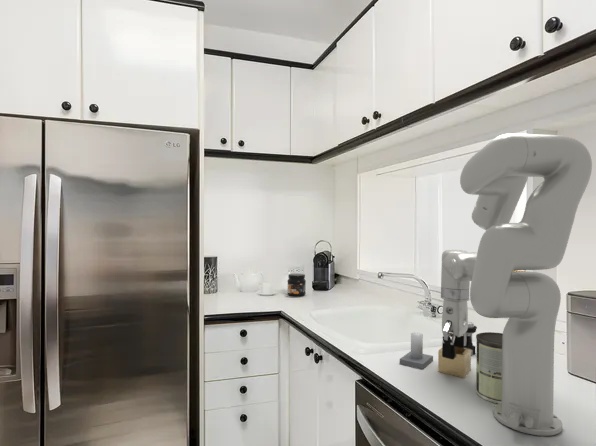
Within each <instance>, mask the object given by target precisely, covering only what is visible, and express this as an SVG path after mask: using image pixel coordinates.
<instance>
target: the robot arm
mask: <svg viewBox="0 0 596 446" xmlns="http://www.w3.org/2000/svg"><path fill="white" fill-rule="evenodd" d="M592 170H593V161H592V156H591V154H590V152H589V150H588V148H587V147H586V146H585V145H584V143H582V142H581V141H579V140H578V139H575V138H572V137H569V136H565V135H558V134H546V133H545V134H544V133H543V134H541V133H538V134H537V133H535V134H533V133H520V132H519V133H516V132H515V133H504V134H501V135H498V136H496V137H494V139H492V140H491V141H489V142H488V143H487V144H486V145H484V146H482V148H481V149H479V150H478V151H477V152H476V153H474V154H473V156H471V157H470V158H469V159H468V160H467V162H466V163H465V165H464V166H463V167H462V170H461V173H460V178H459V179H460V180H459V183H460V187H461V190H462V191H463V192H464V193H466V194H468V195H472V196H474V195H475V196H477V199H476V202H475V205H474V206H473V207H474V208H473V210H472V213H471V220H472V221H473V223H474V224H475V225H477V226H478V227H479V228H481V229H483V230H484V231H485V232H484V233H483V234H482V236H481V238H480V241H479V243H478V244H479V245H478V249H477V252H476V251H475V252H473V251H472V252H468V251H466V250H462V249H446V250H444V251H443V252H442V254H441V271H440V272H441V275H440V277H441V278H440V298H441V299H442V300H443V302H442V316H441V317H442V318H441V333H442V341H441V342H442V343H441V345H442V347H441V348H442V357H444V358H449V359H454V358H455V346H457V347H462V348H464V336H463V335H464V333H465V332H466V331H467V329H468V322H469V319H468V316H469V315H468V313H469V312H468V311H469V310H468V301H470V303H471V306H472V308H473V310H474V311H475V312H476V313H477V314H478V315H480V316H482V317H483V318H486V319H487V318H489V319H508V320H507V321H506V324H505V326H504V328H503V331H502V333H503V335H502V403H499V404H497V403H496V405H494V407H493V411H492V412H493V416H494V418H495V419H496V420H497V421H498V422H499V423H501V424H502V425H504V426H506V427H508V428H509V429H510V428H511V429H512V430H514V431H518V432H520V433H523V434H529V435H534V436H539V437H543V436H544V437H547V436H548V437H550V436H554V435H555V436H556V435H558V434H560V433H561V432H562V431H563V422H562V420H561V419H560V418H559V417H558V416H557V415H556V414H554V393H555V391H554V383H555V380H554V377H555V375H554V374H555V372H554V371H555V370H554V369H555V365H554V364H555V335H556V334H555V330H556V323H557V318H558V314H559V310H560V306H561V298H562V297H561V296H562V294H561V290H560V287H559V285H558V284H557V282H556V281H555V280H554V278H552V277H550V276H549V275H547V274H545V273H542V272H537V271H539V270H540V271H542V270H551V269H555V268H556V267H558V266H559V265H560V264H561V262H562V260H563V259H564V256H565V253H566V250H567V246H568V242H569V239H570V236H571V233H572V228H573V225H574V221H575V218H576V213H577V210H578V207H579V204H580V202H581V199H582V197H583V195H584V193H585V191H586V190H587V187H588V184H589V181H590V179H591V175H592ZM531 177H533V178H535V177H536V178H543V181H542V182H541V183H540V184H538V186H536V187H535V188H534V190H533V191H532V192H531V194H530V196H529V197H528V199H527V201H526V204H525V206H524V207H525V208H524V213H523V215H522V218H521V220H520V221H519V222H510V221H511V220H512V218H513V215H514V213H515V210H516V208H517V206H518V203H519V201H520V199H521V196H522V194H523V192H524V189H525V187H526V184H527V182H528V180H529V178H531ZM470 282H471V283H470Z"/></svg>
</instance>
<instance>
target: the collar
mask: <svg viewBox="0 0 596 446" xmlns="http://www.w3.org/2000/svg"><path fill="white" fill-rule="evenodd" d="M471 365H472V355H471V349H467V348H462V347H457V346H455V358H454V359H449V358H444V357H442V347H441V348H440V349H438V366H437V367H438V369H437V371H438V373H442V374H447V375H450V376H455V377H458V378H459V377H460V378H463V379H466V377H467V375H468V374H469V373H470V372H471V370H472V369H471V368H472V367H471Z"/></svg>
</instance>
